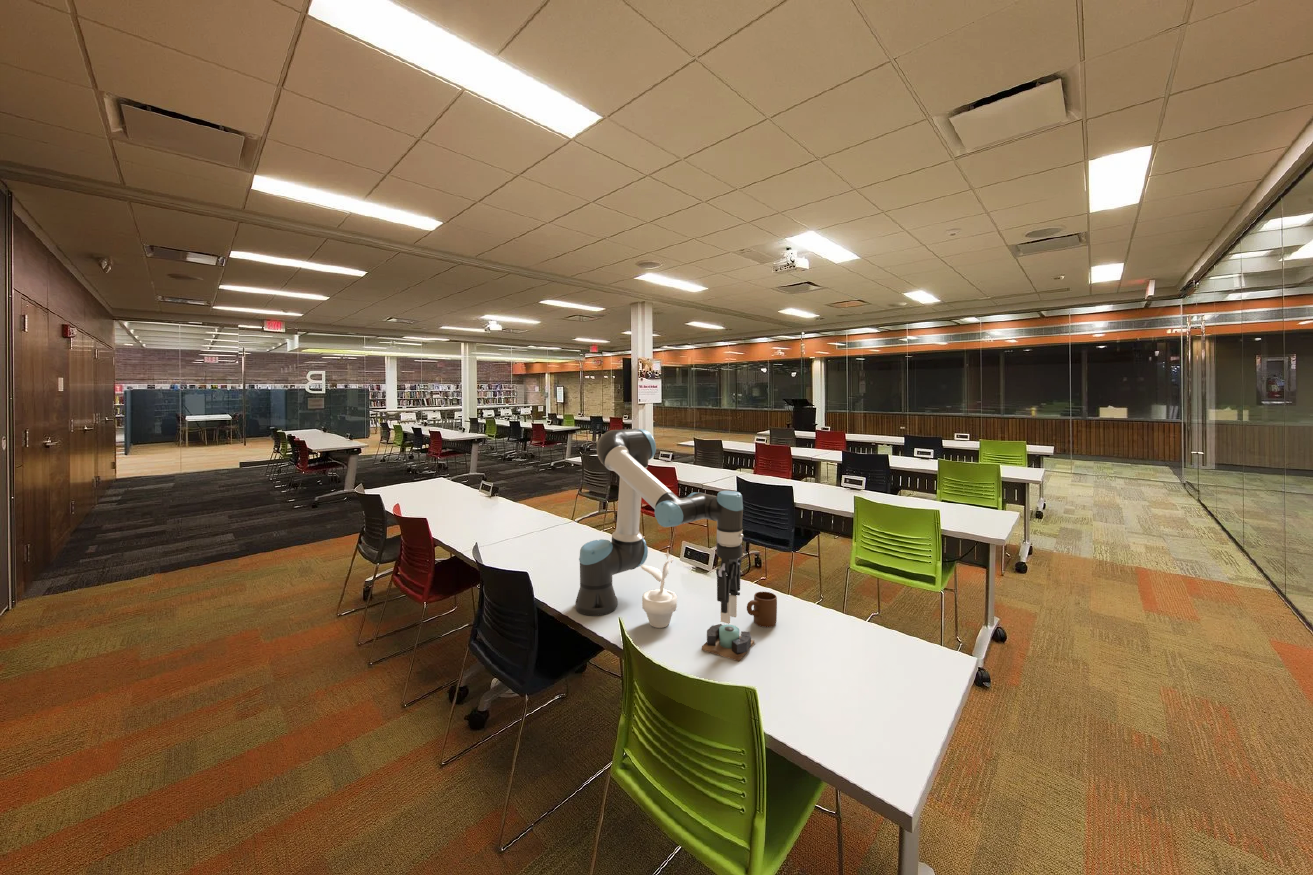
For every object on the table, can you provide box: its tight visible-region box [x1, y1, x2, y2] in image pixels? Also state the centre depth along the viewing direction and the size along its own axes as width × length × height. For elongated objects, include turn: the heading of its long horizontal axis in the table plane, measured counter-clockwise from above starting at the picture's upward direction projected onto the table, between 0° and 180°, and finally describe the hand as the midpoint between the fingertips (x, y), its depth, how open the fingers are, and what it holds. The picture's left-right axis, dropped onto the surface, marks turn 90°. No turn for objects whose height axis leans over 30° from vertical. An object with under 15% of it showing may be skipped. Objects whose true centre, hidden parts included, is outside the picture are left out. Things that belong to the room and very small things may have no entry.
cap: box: [719, 624, 740, 649], centre depth 143 cm, size 6×6×5 cm
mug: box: [746, 591, 778, 628], centre depth 157 cm, size 12×8×9 cm, turn 123°
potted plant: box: [639, 549, 678, 629], centre depth 157 cm, size 13×12×25 cm
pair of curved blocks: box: [706, 623, 752, 655], centre depth 143 cm, size 13×9×3 cm
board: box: [701, 635, 756, 662], centre depth 143 cm, size 12×12×1 cm
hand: (728, 618), depth 143 cm, fingers open, 4 cm apart
